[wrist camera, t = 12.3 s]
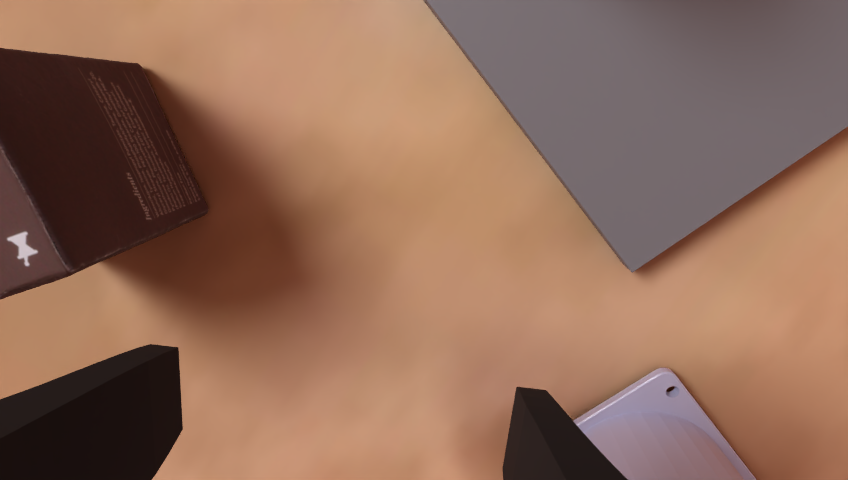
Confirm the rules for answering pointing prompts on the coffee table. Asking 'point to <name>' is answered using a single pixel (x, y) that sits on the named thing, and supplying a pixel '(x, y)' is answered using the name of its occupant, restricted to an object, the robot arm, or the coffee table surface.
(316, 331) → the coffee table surface
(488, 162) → the coffee table surface
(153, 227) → the box
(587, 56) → the board
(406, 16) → the coffee table surface
